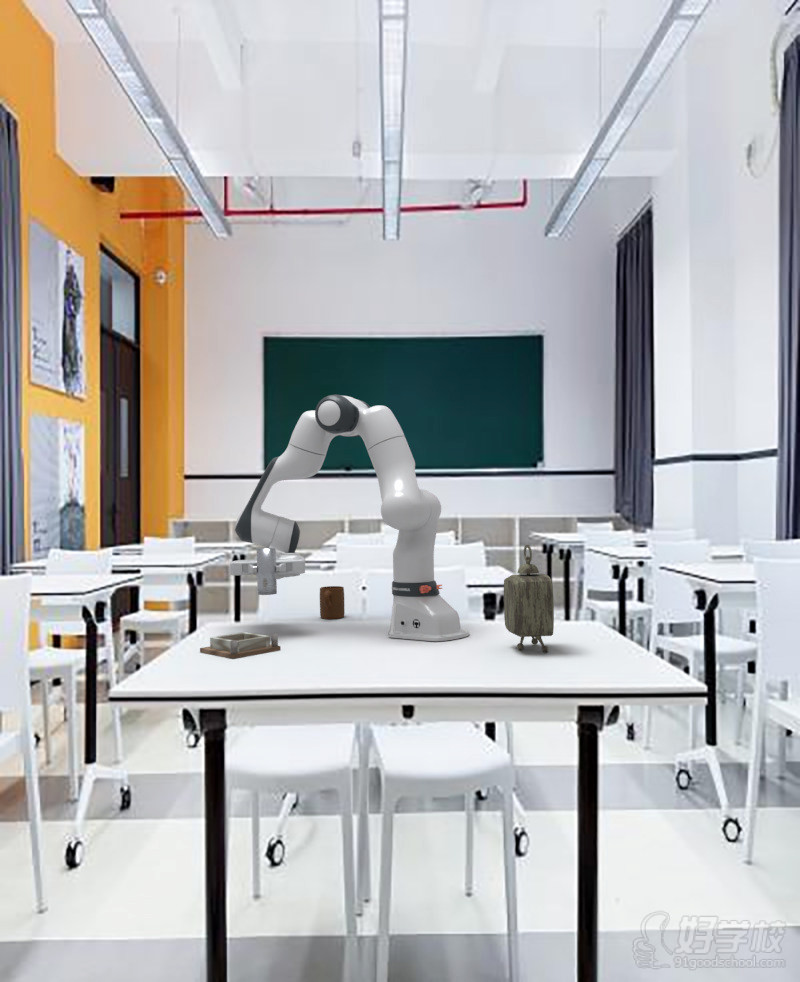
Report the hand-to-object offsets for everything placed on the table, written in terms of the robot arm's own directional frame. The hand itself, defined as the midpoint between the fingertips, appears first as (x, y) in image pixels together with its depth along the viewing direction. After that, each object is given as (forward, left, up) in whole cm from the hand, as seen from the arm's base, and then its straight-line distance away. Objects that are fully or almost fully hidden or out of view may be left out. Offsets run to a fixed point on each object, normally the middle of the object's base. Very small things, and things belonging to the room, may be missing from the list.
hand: (266, 569), depth 225 cm
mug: (+17, -37, -19) cm, 45 cm away
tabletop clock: (-61, -31, -19) cm, 71 cm away
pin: (+1, -1, -7) cm, 7 cm away
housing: (-6, +13, -19) cm, 24 cm away
